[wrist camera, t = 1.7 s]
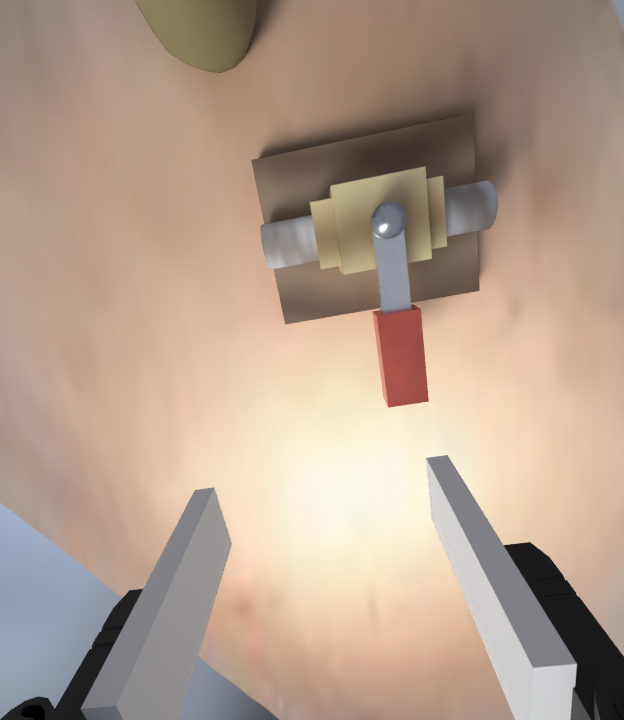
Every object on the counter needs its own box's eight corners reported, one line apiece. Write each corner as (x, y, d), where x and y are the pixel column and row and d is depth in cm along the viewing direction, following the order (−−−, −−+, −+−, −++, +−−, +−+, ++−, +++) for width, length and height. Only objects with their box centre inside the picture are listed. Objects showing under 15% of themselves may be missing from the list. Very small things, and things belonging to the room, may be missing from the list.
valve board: (255, 165, 30) (234, 137, 23) (463, 121, 29) (514, 76, 21) (287, 320, 34) (277, 340, 27) (470, 288, 33) (515, 299, 25)
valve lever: (359, 210, 24) (363, 206, 22) (403, 201, 23) (411, 196, 21) (383, 396, 28) (388, 408, 26) (420, 390, 28) (429, 402, 25)
